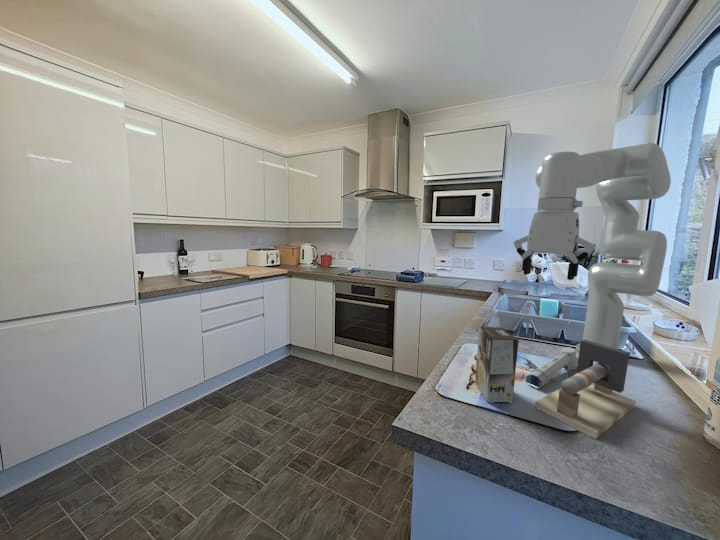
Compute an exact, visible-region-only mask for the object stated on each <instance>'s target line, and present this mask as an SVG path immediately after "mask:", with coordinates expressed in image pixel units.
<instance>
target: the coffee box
mask: <svg viewBox="0 0 720 540" xmlns="http://www.w3.org/2000/svg"><path fill="white" fill-rule="evenodd" d="M478 329H479V331H478V343H477V355H476V356H477V357H476V369H475V381H474V382H475V383H476V384H475V383H474V384H475V386H476V385H477V386H476V388H477V389H478V388H479V389H478V391H479V392H480V391H481V392H480V394H481V395H482V394H483V395H482V396H483V398H484V397H485V398H484V400H485V401H486V400H487V401H488V402H487V401H486V402H487V403H494V402H512V403H513V401H514V400H513V398H514V390H515V389H514V388H515V379H516V370H517V369H516V368H517V359H518V358H517V357H518V349H519V339H518V338H516V337H515V336H514V335H513V334H511V333H510V332H509V331H507V330H506V329H505V328H503V327H498V326H495V327H493V326H492V327H491V326H487V327H485V326H484V327H483V326H481V327H479V328H478Z"/></svg>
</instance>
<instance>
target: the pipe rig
mask: <svg viewBox="0 0 720 540" xmlns="http://www.w3.org/2000/svg"><path fill="white" fill-rule="evenodd" d="M609 372H610V366H608V365H605V364H602V363H599V362H596V364H593V366H591V367H589V368H587V369H585V370H583V371H581V372H578V373H577V372H576V373H574V375H572V376H570V377H567V378H566V379H563V380H562V381H561V382H560V388H559V389H557V390H555V391H553V392H550V393H549V394H547V395H545V396H543V397H542V398H540V399H537V401H535V402H534V407H535V406H536V407H537V408H539V409H540V410H542V411H544V412H546V413H548V414H550V415H551V416H550V415H549V416H550V417H552V416H553V417H552V418H554V417H555V418H554V419H556V418H557V419H556V420H558V419H559V420H558V421H559V422H561V421H562V422H561V423H563V422H565V423H566V424H565V423H564V424H565V425H567V424H568V425H567V426H569V425H570V426H569V427H571V426H572V427H571V428H573V427H574V428H573V429H575V428H576V429H575V430H577V431H579V432H581V433H583V434H585V435H587V436H589V437H591V438H593V439H595V440H596V439H598V438H599V437H600V436H601V435H603V434H604V433H605V432H606V431H607V430H608V429H610V428H611V427H612V426H613V425H614V424H616V423H617V422H618V421H620V420H621V419H622V418H624V417H625V416H626V415H627V414H628V413H630V411H632V410H633V409H634V408H635V407H636V404H637V403H636V402H637V400H635V399H632V398H630V397H627V396H624V395H622V394H621V393H618V392H615V391H613V390H611V389H608V388H606V387H603V386H600V385H598V384H595V383H594V382H596V381H597V380H599V379H601V378H603V377H604V378H607V379H608V378H609ZM540 410H539V411H540ZM542 411H541V412H542ZM544 412H543V413H544ZM546 413H545V414H546ZM548 414H547V415H548Z"/></svg>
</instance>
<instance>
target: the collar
mask: <svg viewBox="0 0 720 540" xmlns="http://www.w3.org/2000/svg"><path fill="white" fill-rule="evenodd" d="M579 344H580V351H578V352H579V353H578V357H577V358H578V364H577V369H576V373H578V372H581V371H583V370H585V369H587V368H589V367H591V366H593V365H594V362H596V363H602V364H605V365H608V366H610V372H609V378H608V379H607V378H604V377H603V378H601V379H599V380H597V381H596V382H594V383H593V384H594V385H595V384H598V385H600V386H603V387H606V388H608V389H611V390H612V391H613V392H615V393H618V394H621V393H623V392H624V389H625V385H626V378H627V371H628V366H629V360H630V355H631V354H630V353H631V352H629V351H627V350H626V351H625V350H622V349H619V348H618V349H616V348H612V347H609V346H605V345H602V344H598V343H595V342H591V341H588V340H583V339H582V340H580V343H579Z"/></svg>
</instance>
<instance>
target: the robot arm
mask: <svg viewBox="0 0 720 540" xmlns="http://www.w3.org/2000/svg"><path fill="white" fill-rule="evenodd" d="M667 162H668V161H667V158H666V155H665V152H664V150H663V148H661V146H660V145H659V144H657V143H654V142H653V143H652V142H649V143H641V144H637V145H629V146H622V147H617V148H610V149H606V150H604V149H603V150H599V151H594V152H588V153H584V154H579V152H575V151H558V152H554V153H553V152H552V153H550V154H548V155H546V156H545V157H544V158H543V159H542V164H541V165H540V166H539V167H538V168H537V170H536V173H535V179H534V180H535V183H536V186H537V187H538V188H539V192H538V193H539V194H538V203H537V210H536V211H537V212H534V213H533V215H532V220H531V222H530V226H529V230H528V235H527V236H523V237H521V238H519V239H517V240H515V241H513V245H514V247H515V250H516V252H517V254H518V255H519V256H520V257H521V259H522V267H521V271H522V272H523V275H525V276H526V275H529V274H531V272H532V263H533V259H532V258H531V257H532V256H533V255H534V254H536V253H539V254H551V255H553V254H554V255H566V256H567V257H568V259H569V260H570V263H568V269H567V275H566V277H567V278H566V279H567V280H568V281H572V280H575V278H578V277H577V276H578V273H579V272H578V271H579V263H581V262H583V261H584V260H585V259H587V258H588V257H590V255H591V254H592V253H593V251H594V250H595V249H596V247H597V246H596V244H594V243H592V242H591V241H588V240H586V239H584V238H582V237H580V217H579V215H580V214H579V212H575V211H576V209H577V208H582V207H583V204H584V203H583V200H578V199H577V198H576V197H577V193H578V192H577V190H578V189H580V188H581V189H582V188H589V187H592V186H595V185H596V186H595V191H596V195H597V197H598V200H599V203H600V205H601V207H602V209H603V212H604V221H603V226H602V232H601V236H600V241H599V242H600V243H599V250H598V251H599V254H600V255H601V256H602V257H604V258H606V259H607V258H609V259H614V260H625V261H626V260H628V261H636V262H637V261H638V262H641V264H640V265H639V264H632V263H631V264H629V263H622V262H621V263H620V262H610V261H609V262H607V261H602V262H596V263H594V264H592V265H591V266H590V267H589V269H588V272H587V282H588V297H587V305H586V313H585V320H584V327H583V328H584V329H583V334H582V340H588V341H591V342H595V343H598V344H602V345H605V346H609V347H612V348H616V349H619V343H620V338H621V331H622V330H621V329H622V324H623V318H624V311H625V306H624V302H623V300H622V299H621V297H620V296H619V295H618V294H626V295H632V296H639V297H652V296H654V295H655V294H656V293H657V292H658V290H659V287H660V284H661V278H662V274H663V269H664V264H665V261H666V254H667V248H668V240H667V237H666V235H665V234H664V233H663V232H662V231H659V230H648V229H647V230H644V229H643V230H641V229H640V230H638V225H639V220H640V214H639V211H638V210H637V209H636V207H634V206H633V204H631V202H629V201H642V200H655V199H656V200H657V199H660V198H662V197H664V196H665V195H667V193H668V192H669V190H670V187H671V182H672V180H671V174H670V170H669V165H668V163H667ZM525 243H526V249H527V250H525V249H524V248H523V244H525ZM579 245H580V246H581V247H584V251H583V252H581V253H580V254H578V253H577V252H578V250H579ZM575 349H576V351H577V352H579V351H580V343H577V344H576V346H575Z"/></svg>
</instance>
